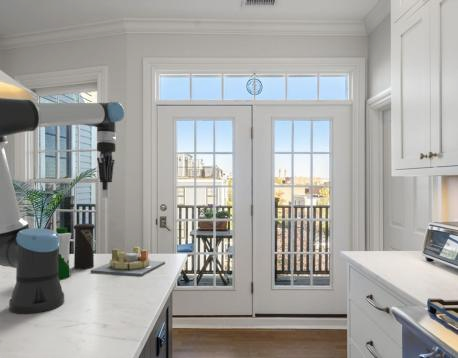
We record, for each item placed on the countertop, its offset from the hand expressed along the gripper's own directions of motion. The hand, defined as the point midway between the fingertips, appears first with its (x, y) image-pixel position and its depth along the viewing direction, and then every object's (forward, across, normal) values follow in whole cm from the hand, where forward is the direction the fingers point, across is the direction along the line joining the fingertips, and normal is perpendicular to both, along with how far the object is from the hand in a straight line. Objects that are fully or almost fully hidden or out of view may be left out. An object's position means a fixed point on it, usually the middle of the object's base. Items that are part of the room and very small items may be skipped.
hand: (105, 197), depth 149 cm
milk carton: (+33, -8, +17) cm, 38 cm away
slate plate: (+32, +11, -7) cm, 35 cm away
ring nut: (+31, +11, -7) cm, 34 cm away
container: (+33, +11, +14) cm, 37 cm away
